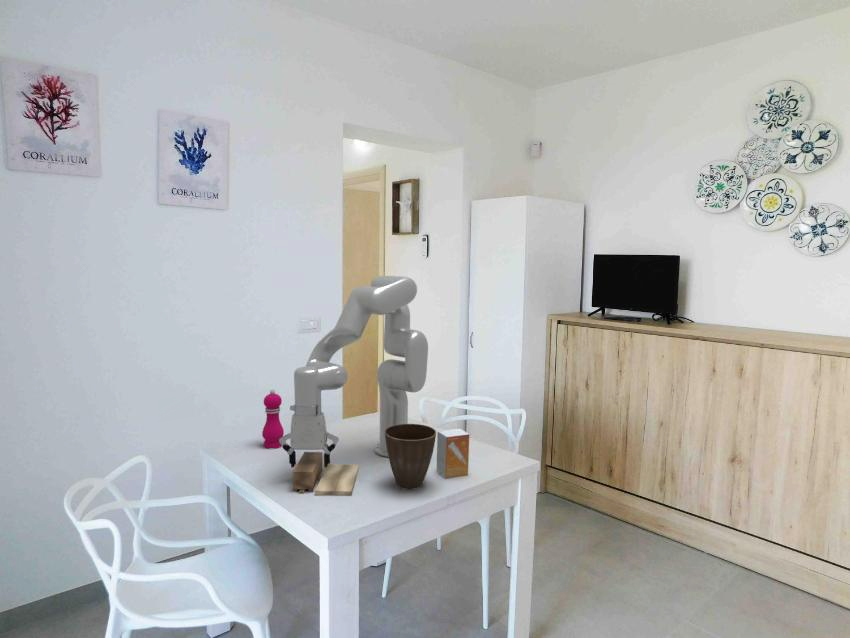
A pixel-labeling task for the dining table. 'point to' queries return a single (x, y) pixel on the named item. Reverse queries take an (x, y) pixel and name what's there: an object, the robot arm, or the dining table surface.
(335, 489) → the board
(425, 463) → the plant pot
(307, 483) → the brown wooden block
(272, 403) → the pepper mill
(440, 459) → the small box
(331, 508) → the dining table surface
